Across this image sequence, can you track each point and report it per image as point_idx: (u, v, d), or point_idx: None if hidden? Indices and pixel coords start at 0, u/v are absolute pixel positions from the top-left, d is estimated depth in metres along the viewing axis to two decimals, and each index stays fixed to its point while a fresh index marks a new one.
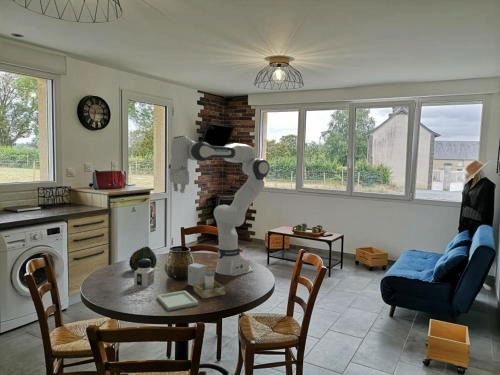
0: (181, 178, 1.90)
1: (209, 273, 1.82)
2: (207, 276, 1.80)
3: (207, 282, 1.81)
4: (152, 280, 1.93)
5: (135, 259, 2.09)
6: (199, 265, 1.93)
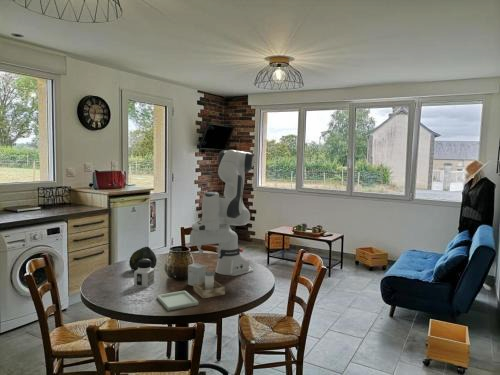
0: (226, 236, 1.84)
1: (209, 273, 1.82)
2: (207, 276, 1.80)
3: (207, 282, 1.81)
4: (152, 280, 1.93)
5: (135, 259, 2.09)
6: (199, 265, 1.93)
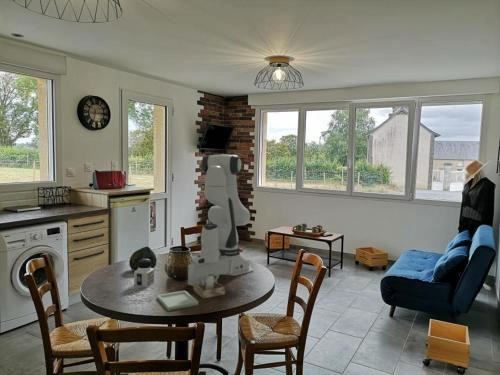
0: (225, 267, 1.85)
1: None
2: None
3: (207, 282, 1.81)
4: (152, 280, 1.93)
5: (135, 259, 2.09)
6: None
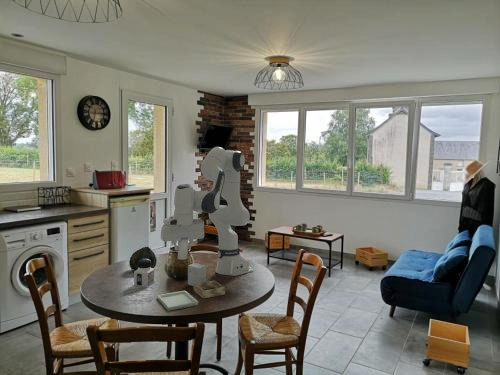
0: (200, 232, 1.72)
1: None
2: (180, 240, 1.68)
3: (180, 246, 1.68)
4: (152, 280, 1.93)
5: (135, 259, 2.09)
6: (199, 265, 1.93)
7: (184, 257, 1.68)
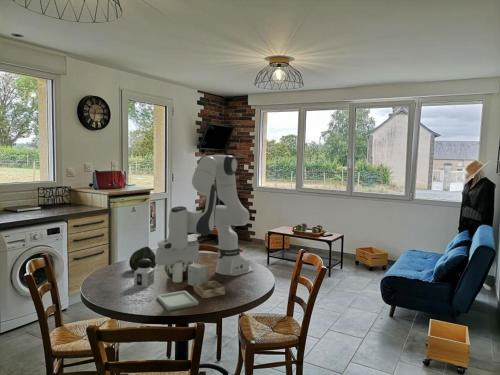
0: (195, 254, 1.71)
1: None
2: (175, 263, 1.67)
3: (175, 269, 1.67)
4: (152, 280, 1.93)
5: (135, 259, 2.09)
6: (199, 265, 1.93)
7: (179, 280, 1.68)
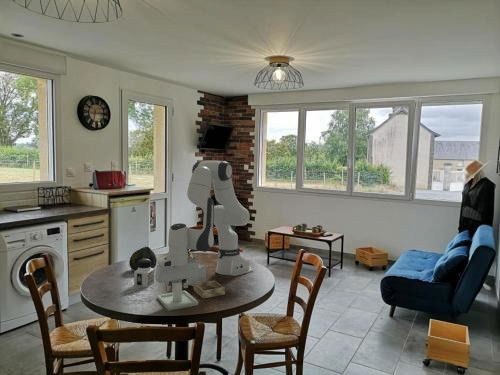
0: (195, 271, 1.72)
1: (176, 280, 1.68)
2: (174, 283, 1.67)
3: (174, 289, 1.68)
4: (152, 280, 1.93)
5: (135, 259, 2.08)
6: (199, 265, 1.93)
7: (179, 299, 1.69)
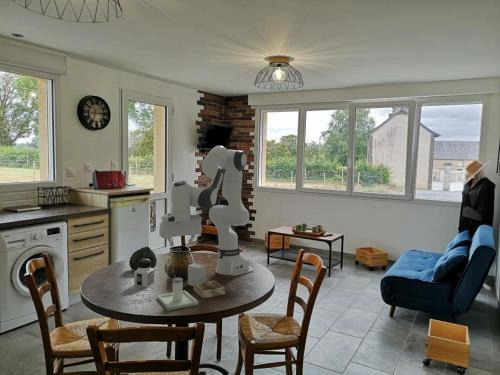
0: (198, 227, 1.77)
1: (177, 280, 1.69)
2: (175, 283, 1.68)
3: (175, 289, 1.68)
4: (152, 280, 1.93)
5: (135, 259, 2.09)
6: (199, 265, 1.93)
7: (179, 300, 1.69)
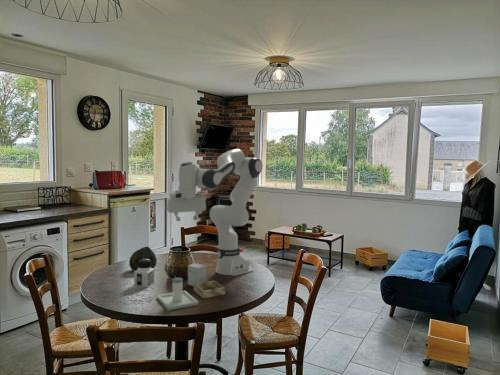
0: (202, 205, 1.93)
1: (177, 280, 1.69)
2: (174, 283, 1.68)
3: (175, 289, 1.68)
4: (152, 280, 1.93)
5: (135, 259, 2.08)
6: (199, 265, 1.93)
7: (179, 300, 1.69)
